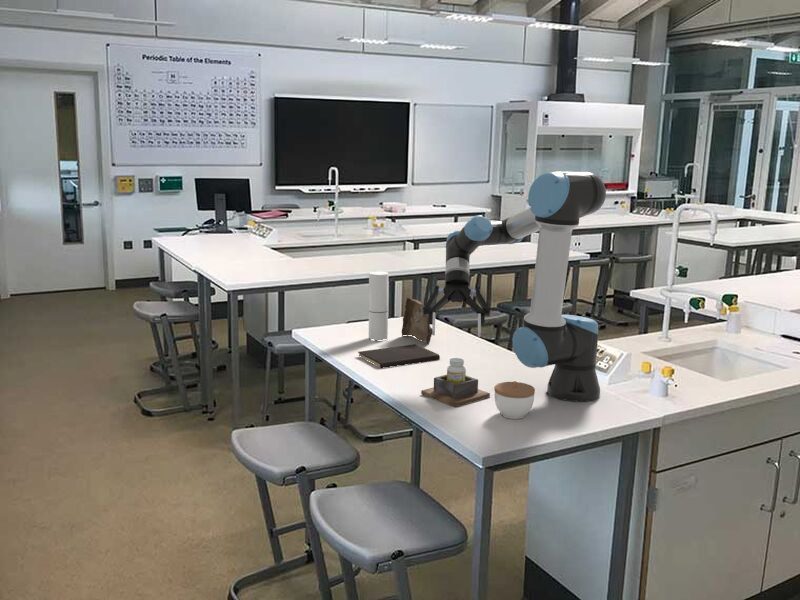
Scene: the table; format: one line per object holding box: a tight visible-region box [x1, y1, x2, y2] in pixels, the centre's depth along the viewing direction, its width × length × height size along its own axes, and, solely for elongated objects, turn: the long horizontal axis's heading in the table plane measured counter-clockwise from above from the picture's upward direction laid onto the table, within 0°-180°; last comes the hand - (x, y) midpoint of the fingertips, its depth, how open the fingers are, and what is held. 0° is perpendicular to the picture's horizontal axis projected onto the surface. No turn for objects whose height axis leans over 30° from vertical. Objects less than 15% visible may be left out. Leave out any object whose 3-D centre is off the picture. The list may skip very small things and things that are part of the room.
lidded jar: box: [494, 380, 536, 420], centre depth 198 cm, size 11×11×9 cm
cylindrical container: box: [368, 271, 389, 340], centre depth 275 cm, size 7×7×25 cm
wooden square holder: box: [420, 374, 491, 408], centre depth 214 cm, size 14×14×5 cm
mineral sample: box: [401, 297, 433, 346], centre depth 275 cm, size 17×4×15 cm, turn 33°
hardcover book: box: [357, 343, 441, 369], centre depth 252 cm, size 16×23×2 cm
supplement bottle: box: [446, 357, 467, 384], centre depth 213 cm, size 5×5×10 cm
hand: (456, 333), depth 220 cm, fingers open, 13 cm apart
